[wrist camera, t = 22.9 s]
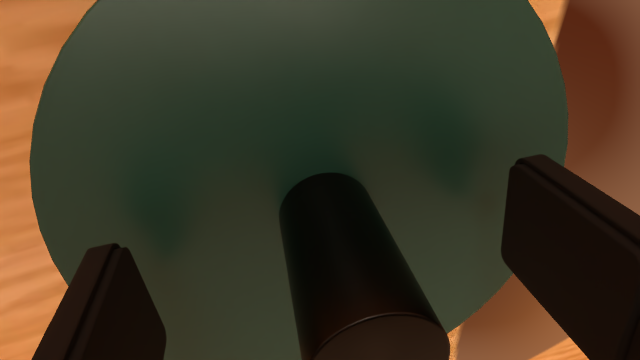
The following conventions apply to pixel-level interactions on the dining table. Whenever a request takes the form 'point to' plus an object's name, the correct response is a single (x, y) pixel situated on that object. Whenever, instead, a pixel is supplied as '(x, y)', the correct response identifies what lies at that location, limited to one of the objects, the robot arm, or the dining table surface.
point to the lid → (297, 164)
